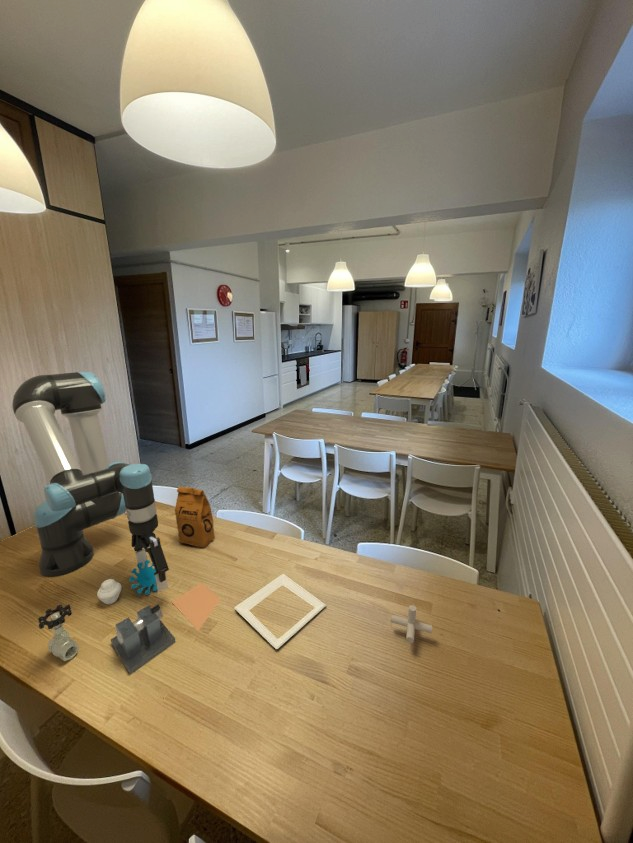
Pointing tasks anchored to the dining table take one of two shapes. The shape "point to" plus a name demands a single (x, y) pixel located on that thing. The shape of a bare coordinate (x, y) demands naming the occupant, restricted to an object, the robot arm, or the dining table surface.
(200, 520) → the coffee package
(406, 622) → the pipe connector
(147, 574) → the gear
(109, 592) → the white rounded lump
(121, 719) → the dining table surface
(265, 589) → the white square picture frame
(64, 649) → the valve
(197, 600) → the pad
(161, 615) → the shaft stand
